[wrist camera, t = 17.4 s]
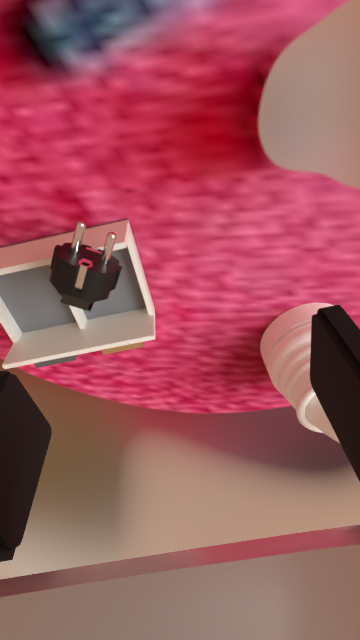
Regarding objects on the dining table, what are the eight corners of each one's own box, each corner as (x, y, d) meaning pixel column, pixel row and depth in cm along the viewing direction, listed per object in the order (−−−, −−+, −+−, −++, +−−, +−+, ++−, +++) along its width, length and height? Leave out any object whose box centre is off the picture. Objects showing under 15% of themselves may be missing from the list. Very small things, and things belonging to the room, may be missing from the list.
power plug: (70, 262, 39) (34, 310, 28) (86, 195, 35) (52, 222, 25) (118, 278, 40) (102, 330, 29) (138, 215, 36) (127, 249, 26)
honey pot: (265, 305, 44) (320, 420, 30) (362, 299, 45) (464, 409, 30) (255, 376, 52) (296, 495, 37) (339, 370, 52) (411, 486, 38)
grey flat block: (41, 340, 45) (32, 360, 42) (77, 332, 45) (71, 352, 42) (44, 346, 46) (36, 367, 43) (80, 339, 45) (75, 360, 42)
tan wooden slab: (104, 327, 45) (100, 347, 41) (141, 319, 44) (140, 339, 41) (107, 334, 45) (103, 354, 42) (143, 326, 45) (143, 346, 42)
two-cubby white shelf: (-30, 253, 38) (-58, 281, 33) (128, 218, 36) (124, 241, 31) (21, 335, 44) (4, 369, 39) (154, 308, 43) (155, 339, 38)
